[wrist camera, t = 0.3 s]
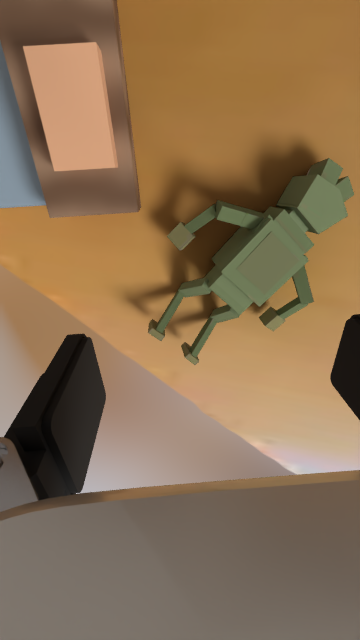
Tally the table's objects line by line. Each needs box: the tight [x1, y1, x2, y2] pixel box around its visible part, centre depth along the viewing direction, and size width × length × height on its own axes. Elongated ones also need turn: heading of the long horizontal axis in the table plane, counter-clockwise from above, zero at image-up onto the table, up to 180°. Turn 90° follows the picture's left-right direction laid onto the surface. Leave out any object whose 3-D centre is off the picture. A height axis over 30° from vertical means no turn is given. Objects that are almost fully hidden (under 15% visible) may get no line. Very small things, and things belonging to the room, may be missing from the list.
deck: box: [0, 0, 141, 218], centre depth 28 cm, size 18×10×4 cm, turn 3°
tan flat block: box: [23, 42, 118, 171], centre depth 25 cm, size 9×6×2 cm, turn 3°
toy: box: [148, 158, 354, 365], centre depth 36 cm, size 21×8×30 cm
